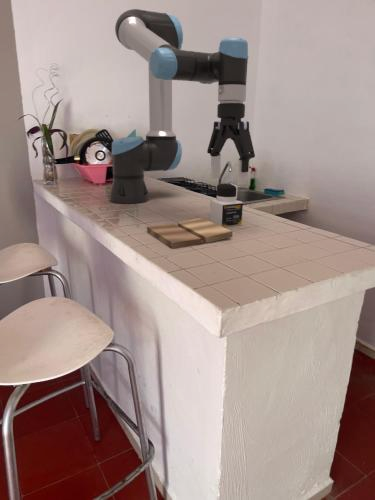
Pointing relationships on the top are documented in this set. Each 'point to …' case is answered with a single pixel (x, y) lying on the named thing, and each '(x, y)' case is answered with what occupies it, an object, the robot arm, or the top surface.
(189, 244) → the laid board
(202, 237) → the plank
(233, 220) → the medicine bottle
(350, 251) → the top surface
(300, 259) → the top surface
